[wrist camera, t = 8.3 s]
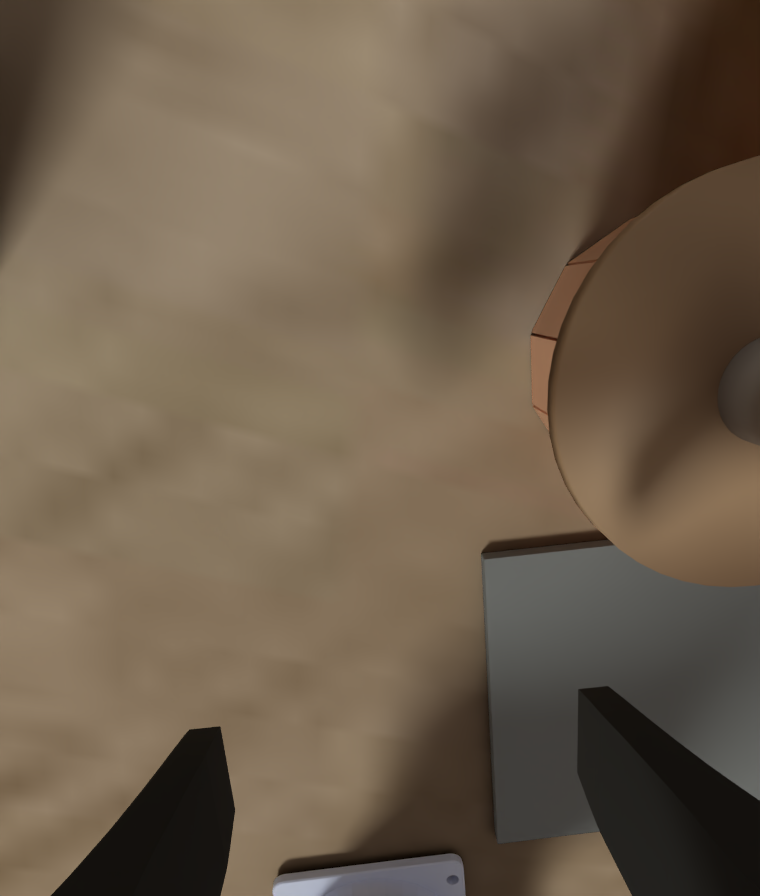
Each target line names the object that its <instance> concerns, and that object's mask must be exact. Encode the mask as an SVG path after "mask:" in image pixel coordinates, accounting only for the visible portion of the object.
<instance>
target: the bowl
mask: <svg viewBox="0 0 760 896" xmlns="http://www.w3.org/2000/svg"><path fill="white" fill-rule="evenodd" d="M635 218H636V217H635ZM635 218H633V219H629V220H628V221H627V222H625V223H624V224H622V225H621V226H620V227H618V228H617V229H615V230H614V231H612V232H611V233H610V234H608V235H607V236H605V237H604V238H603V239H601V240H600V241H598V242H597V243H596V244H594V245H593V246H591V247H590V248H589V249H587V250H586V251H584V252H583V253H581V254H580V255H579V256H577V257H576V258H574V259H573V260H572V261H570V262H569V263H568V265H569V266H565V268H564V270H563V272H562V274H561V275H560V277H559V279H558V281H557V283H556V285H555V287H554V289H553V291H552V293H551V295H550V297H549V299H548V301H547V303H546V305H545V307H544V309H543V311H542V313H541V315H540V316H539V318H538V320H537V322H536V324H535V326H534V328H533V330H532V333H534V334H536V335H532V336H531V376H532V404H533V405H535V406H533V408H534V409H535V411H536V412H537V414H538V415H539V417H540V419H541V420H542V422H543V423H544V425H545V426H546V428H547V429H548V431H549V423H548V413H547V400H548V380H549V374H550V368H551V362H552V356H553V351H554V348H555V345H556V341H557V338H558V335H559V331H560V328H561V325H562V322H563V320H564V318H565V316H566V313H567V311H568V309H569V306H570V304H571V302H572V299H573V297H574V296H575V294H576V292H577V290H578V289H579V287H580V285H581V284H582V282H583V280H584V278H585V277H586V275H587V273H588V272H589V270H590V269H591V267H592V266H593V265H594V263H595V262H596V261H597V259H598V258H599V257H600V255H601V254H602V253H603V251H604V250H605V249H606V247H607V246H608V245H609V244H610V243H611V242H612V241H613V240H614V239H615V238H616V237H617V236H618V235H619V233H620V232H621V231H622V230H623V229H624V228H625V227H626V226H627V225H628V224H629V223H630V222H631V221H632V220H634V219H635Z"/></svg>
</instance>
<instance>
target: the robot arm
mask: <svg viewBox="0 0 760 896" xmlns="http://www.w3.org/2000/svg"><path fill="white" fill-rule="evenodd" d="M577 773H578V776H579V779H580V782H581V784H582V787H583V790H584V792H585V795H586V798H587V801H588V803H589V806H590V808H591V811H592V814H593V816H594V819H595V821H596V824H597V826H598V828H599V830H600V833H601V835H602V837H603V839H604V841H605V843H606V845H607V847H608V849H609V851H610V853H611V855H612V857H613V859H614V861H615V863H616V865H617V867H618V869H619V871H620V873H621V875H622V877H623V879H624V880H625V882H626V884H627V886H628V888H629V890H630V892H631V894H632V896H760V800H758V799H757V798H755V797H754V796H752V795H751V794H749V793H748V792H747V791H745V790H744V789H742V788H741V787H739V786H738V785H736V784H735V783H733V782H732V781H731V780H729V779H728V778H726V777H725V776H723V775H722V774H721V773H719V772H718V771H717V770H715V769H714V768H712V767H711V766H710V765H708V764H707V763H706V762H704V761H703V760H701V759H700V758H699V757H697V756H696V755H695V754H693V753H692V752H691V751H690V750H688V749H687V748H686V747H684V746H683V745H682V744H680V743H679V742H678V741H676V740H675V739H674V738H673V737H671V736H670V735H669V734H668V733H666V732H665V731H664V730H662V729H661V728H660V727H659V726H657V725H656V724H655V723H654V722H652V721H651V720H650V719H649V718H647V717H646V716H645V715H644V714H642V713H641V712H640V711H639V710H638V709H636V708H635V707H634V706H633V705H631V704H630V703H629V702H628V701H626V700H625V699H624V698H623V697H621V696H620V695H619V694H618V693H616V692H615V691H614V690H613V689H611V688H610V687H609V686H603V687H594V688H584V689H578V746H577ZM234 814H235V807H234V801H233V795H232V790H231V784H230V779H229V773H228V767H227V762H226V756H225V750H224V745H223V739H222V733H221V728H220V727H211V728H201V729H191V730H189V731H188V732H187V733H186V734H185V735H184V737H183V738H182V739H181V740H180V742H179V743H178V744H177V746H176V747H175V748H174V750H173V751H172V752H171V753H170V755H169V756H168V757H167V759H166V760H165V761H164V763H163V764H162V765H161V767H160V768H159V769H158V770H157V772H156V773H155V774H154V776H153V777H152V778H151V779H150V781H149V782H148V783H147V785H146V786H145V787H144V788H143V790H142V791H141V792H140V793H139V795H138V796H137V797H136V798H135V800H134V801H133V802H132V803H131V805H130V806H129V807H128V808H127V810H126V811H125V812H124V813H123V815H122V816H121V817H120V818H119V819H118V821H117V822H116V823H115V824H114V826H113V827H112V828H111V829H110V830H109V831H108V833H107V834H106V835H105V836H104V837H103V838H102V840H101V841H100V842H99V843H98V844H97V845H96V846H95V847H94V849H93V850H92V851H91V852H90V853H89V854H88V855H87V857H86V858H85V859H84V860H83V861H82V862H81V863H80V865H79V866H78V867H77V868H76V869H75V870H74V871H73V872H72V874H71V875H70V876H69V877H68V878H67V879H66V880H65V881H64V882H63V883H62V884H61V885H60V886H59V888H58V889H57V890H56V891H55V892H54V893H53V894H52V895H51V896H220V895H221V891H222V887H223V883H224V878H225V874H226V870H227V864H228V857H229V851H230V844H231V837H232V829H233V822H234ZM451 875H452V876H451ZM273 896H466V894H465V880H464V867H463V862H462V859H461V857H460V856H459V855H456V854H452V853H449V854H441V855H433V856H425V857H417V858H409V859H401V860H393V861H385V862H377V863H369V864H361V865H353V866H345V867H337V868H329V869H321V870H313V871H305V872H297V873H289V874H283V875H279V876H278V877H277V878H276V879H275V880H274V883H273Z"/></svg>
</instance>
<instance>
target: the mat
mask: <svg viewBox="0 0 760 896" xmlns="http://www.w3.org/2000/svg"><path fill="white" fill-rule="evenodd" d="M481 561H482V581H483V602H484V622H485V642H486V662H487V683H488V703H489V723H490V743H491V764H492V784H493V804H494V824H495V835H496V839H497V842H498V844H502V843H510V842H518V841H526V840H534V839H542V838H551V837H559V836H567V835H575V834H583V833H591V832H599V831H600V830H599V828H598V826H597V824H596V821H595V819H594V816H593V814H592V811H591V808H590V806H589V803H588V801H587V798H586V795H585V792H584V790H583V787H582V784H581V782H580V779H579V776H578V773H577V746H578V689H584V688H594V687H603V686H609V687H610V688H611V689H613V690H614V691H615V692H616V693H618V694H619V695H620V696H621V697H623V698H624V699H625V700H626V701H628V702H629V703H630V704H631V705H633V706H634V707H635V708H636V709H638V710H639V711H640V712H641V713H642V714H644V715H645V716H646V717H647V718H649V719H650V720H651V721H652V722H654V723H655V724H656V725H657V726H659V727H660V728H661V729H662V730H664V731H665V732H666V733H668V734H669V735H670V736H671V737H673V738H674V739H675V740H676V741H678V742H679V743H680V744H682V745H683V746H684V747H686V748H687V749H688V750H690V751H691V752H692V753H693V754H695V755H696V756H697V757H699V758H700V759H701V760H703V761H704V762H706V763H707V764H708V765H710V766H711V767H712V768H714V769H715V770H717V771H718V772H719V773H721V774H722V775H723V776H725V777H726V778H728V779H729V780H731V781H732V782H733V783H735V784H736V785H738V786H739V787H741V788H742V789H744V790H745V791H747V792H748V793H749V794H751V795H752V796H754V797H755V798H757V799H758V800H760V585H757V586H742V587H721V586H706V585H701V584H695V583H690V582H685V581H681V580H678V579H675V578H672V577H669V576H666V575H663V574H660V573H658V572H656V571H654V570H652V569H650V568H648V567H646V566H644V565H642V564H640V563H638V562H637V561H635V560H634V559H633V558H631V557H630V556H628V555H627V554H625V553H624V552H623V551H621V550H620V549H618V548H617V547H616V546H615V545H614V544H613V543H612V542H611V541H610V540H600V541H591V542H582V543H572V544H563V545H554V546H545V547H536V548H527V549H517V550H508V551H499V552H490V553H481Z"/></svg>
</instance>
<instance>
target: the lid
mask: <svg viewBox="0 0 760 896" xmlns="http://www.w3.org/2000/svg"><path fill="white" fill-rule="evenodd" d="M547 413H548V423H549V434H550V439H551V443H552V447H553V452H554V456H555V460H556V463H557V465H558V468H559V470H560V473H561V476H562V478H563V481H564V483H565V485H566V487H567V488H568V490H569V492H570V494H571V495H572V497H573V499H574V501H575V502H576V504H577V505H578V507H579V508H580V509H581V511H582V512H583V513H584V514H585V516H586V517H587V518H588V519H589V521H590V522H591V523H592V524H593V525H594V526H595V527H596V528H597V529H598V530H599V531H600V532H601V533H603V534H604V535H605V536H606V537H607V538H608V539H609V540H610V541H611V542H612V543H613V544H614V545H615V546H616V547H617V548H618V549H620V550H621V551H623V552H624V553H625V554H627V555H628V556H630V557H631V558H633V559H634V560H635V561H637V562H638V563H640V564H642V565H644V566H646V567H648V568H650V569H652V570H654V571H656V572H658V573H660V574H663V575H666V576H669V577H672V578H675V579H678V580H681V581H685V582H690V583H695V584H701V585H706V586H721V587H742V586H757V585H760V155H759V156H756V157H753V158H750V159H747V160H744V161H740V162H737V163H734V164H731V165H728V166H725V167H722V168H719V169H716V170H713V171H710V172H708V173H706V174H704V175H702V176H700V177H697V178H695V179H693V180H691V181H689V182H687V183H685V184H683V185H681V186H679V187H678V188H676V189H675V190H673V191H671V192H670V193H668V194H667V195H665V196H664V197H662V198H660V199H659V200H657V201H656V202H654V203H653V204H652V205H651V206H649V207H648V208H647V209H646V210H645V211H643V212H642V213H641V214H640V215H638V216H637V217H636V218H635V219H634V220H632V221H631V222H630V223H629V224H628V225H627V226H626V227H625V228H624V229H623V230H622V231H621V232H620V233H619V235H618V236H617V237H616V238H615V239H614V240H613V241H612V242H611V243H610V244H609V245H608V246H607V247H606V249H605V250H604V251H603V253H602V254H601V255H600V257H599V258H598V259H597V261H596V262H595V263H594V265H593V266H592V267H591V269H590V270H589V272H588V273H587V275H586V277H585V278H584V280H583V282H582V284H581V285H580V287H579V289H578V290H577V292H576V294H575V296H574V297H573V299H572V302H571V304H570V306H569V309H568V311H567V313H566V316H565V318H564V320H563V322H562V325H561V328H560V331H559V335H558V338H557V341H556V345H555V348H554V351H553V356H552V362H551V368H550V374H549V380H548V400H547Z"/></svg>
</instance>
